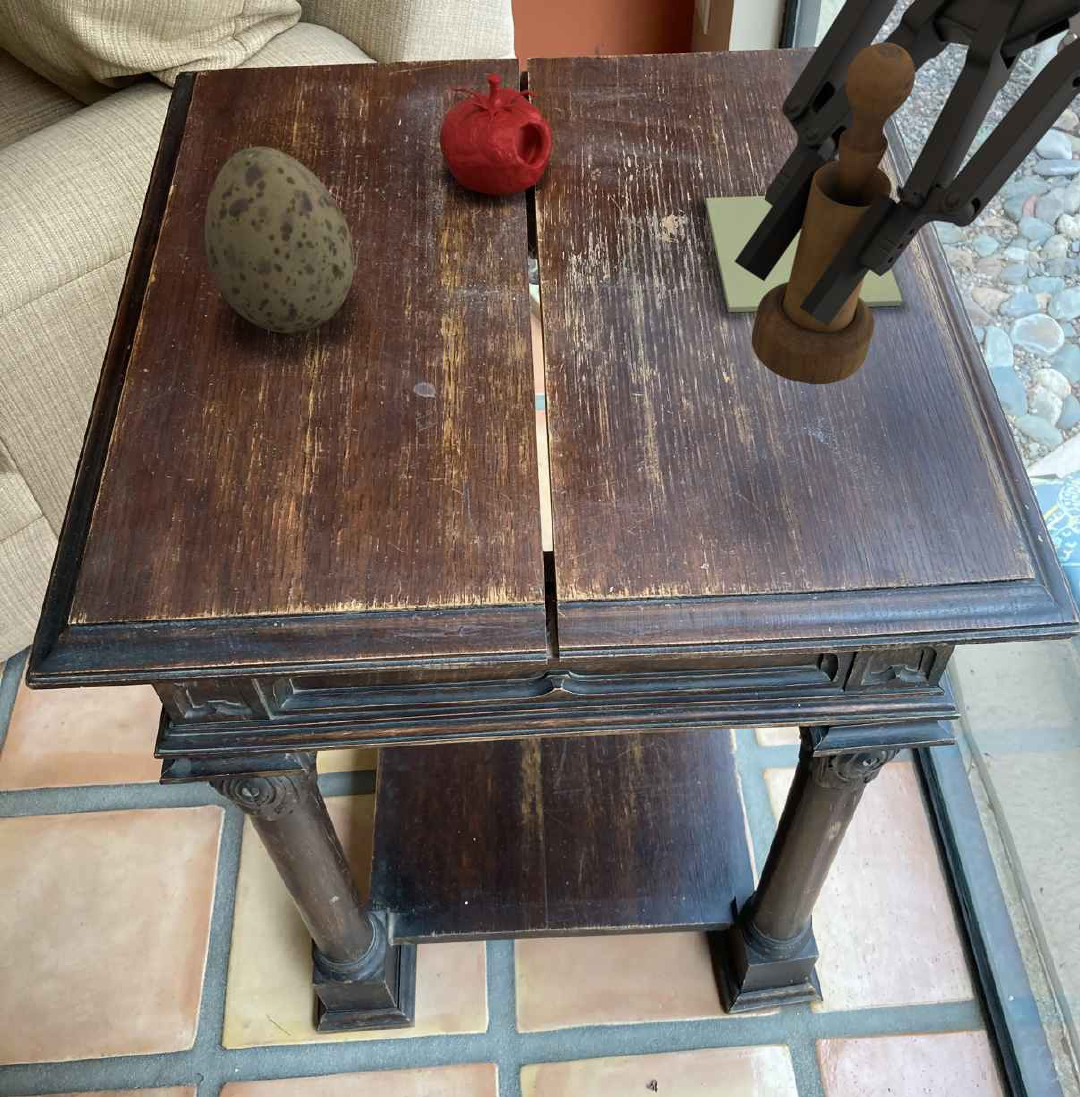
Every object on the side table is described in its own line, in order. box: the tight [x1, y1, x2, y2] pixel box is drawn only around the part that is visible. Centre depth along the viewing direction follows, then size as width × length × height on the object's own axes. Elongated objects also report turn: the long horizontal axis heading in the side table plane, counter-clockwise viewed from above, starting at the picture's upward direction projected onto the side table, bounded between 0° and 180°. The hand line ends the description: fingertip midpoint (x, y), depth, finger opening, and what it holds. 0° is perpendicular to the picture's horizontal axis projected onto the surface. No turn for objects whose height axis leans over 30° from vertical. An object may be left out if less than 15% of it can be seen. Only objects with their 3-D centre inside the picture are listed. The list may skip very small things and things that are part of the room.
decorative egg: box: [204, 146, 355, 334], centre depth 79 cm, size 11×11×15 cm
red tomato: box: [438, 72, 553, 196], centre depth 91 cm, size 10×10×9 cm
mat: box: [704, 195, 903, 313], centre depth 88 cm, size 14×14×1 cm
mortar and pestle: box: [751, 42, 916, 385], centre depth 54 cm, size 7×6×18 cm
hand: (781, 292), depth 55 cm, fingers closed on mortar and pestle, 4 cm apart
